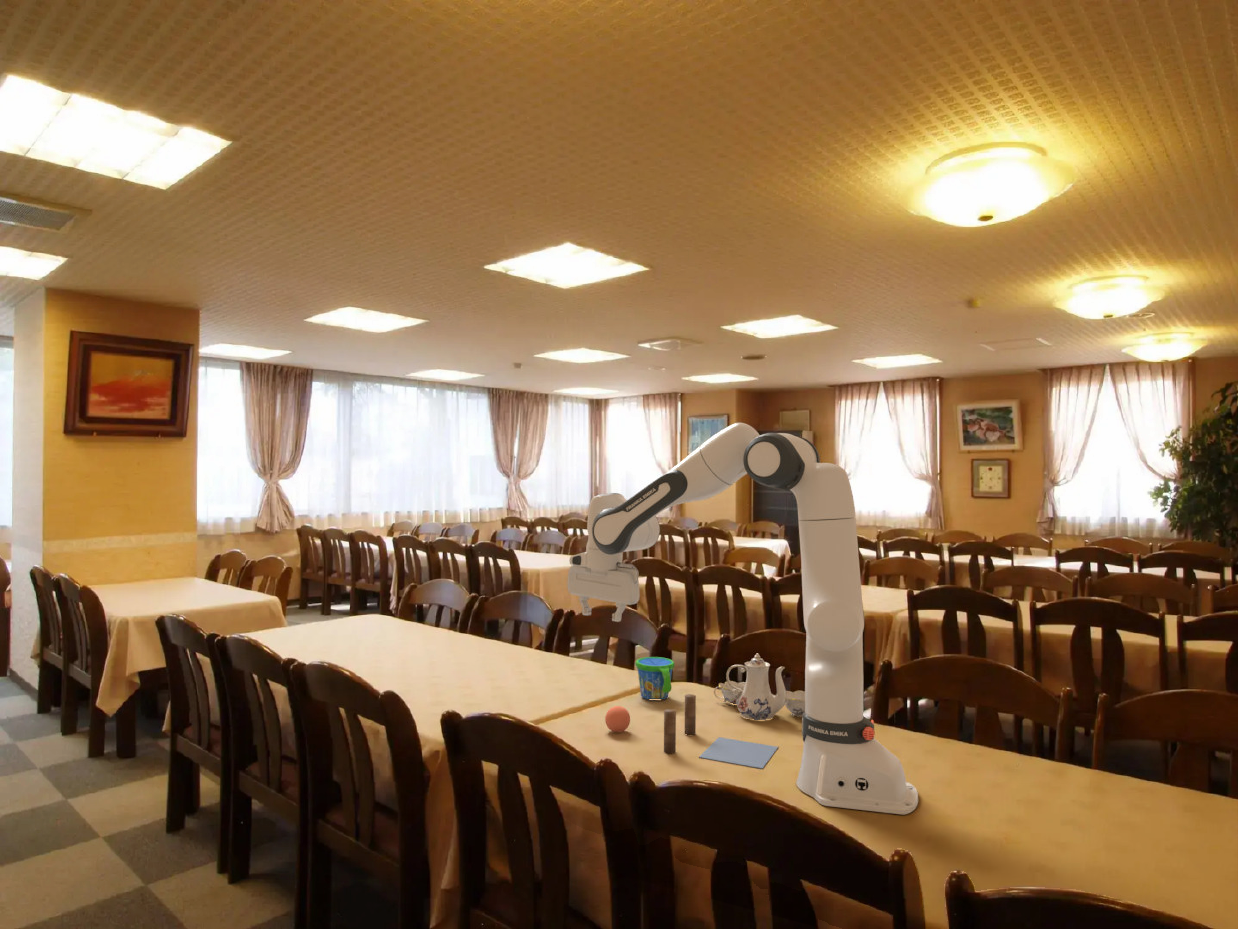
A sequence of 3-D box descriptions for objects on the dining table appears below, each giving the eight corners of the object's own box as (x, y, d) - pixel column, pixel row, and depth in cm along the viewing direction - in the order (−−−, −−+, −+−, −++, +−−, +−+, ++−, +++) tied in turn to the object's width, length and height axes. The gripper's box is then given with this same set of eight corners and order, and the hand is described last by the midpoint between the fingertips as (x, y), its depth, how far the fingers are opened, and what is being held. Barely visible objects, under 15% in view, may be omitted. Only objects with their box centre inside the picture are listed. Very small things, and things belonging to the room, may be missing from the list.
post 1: (677, 750, 163) (677, 710, 164) (673, 754, 161) (673, 713, 161) (666, 749, 164) (666, 708, 165) (662, 752, 162) (662, 711, 162)
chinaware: (821, 719, 192) (822, 654, 194) (809, 731, 177) (810, 661, 179) (718, 704, 204) (720, 643, 206) (699, 715, 189) (701, 649, 191)
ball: (634, 730, 177) (634, 705, 177) (623, 737, 172) (623, 711, 172) (611, 726, 180) (612, 701, 180) (600, 733, 174) (601, 708, 174)
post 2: (697, 733, 175) (697, 695, 175) (693, 736, 173) (693, 698, 173) (686, 731, 176) (687, 693, 177) (683, 734, 174) (683, 696, 174)
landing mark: (778, 747, 166) (778, 746, 166) (762, 769, 153) (762, 768, 153) (718, 738, 172) (718, 737, 172) (698, 757, 159) (698, 757, 159)
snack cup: (682, 704, 198) (683, 666, 198) (646, 707, 195) (646, 669, 195) (662, 689, 213) (662, 653, 213) (628, 691, 210) (628, 655, 210)
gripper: (646, 564, 172) (643, 623, 172) (581, 555, 185) (579, 610, 185) (629, 566, 167) (627, 627, 167) (564, 556, 180) (561, 613, 180)
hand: (601, 618), depth 176 cm, fingers open, 8 cm apart
